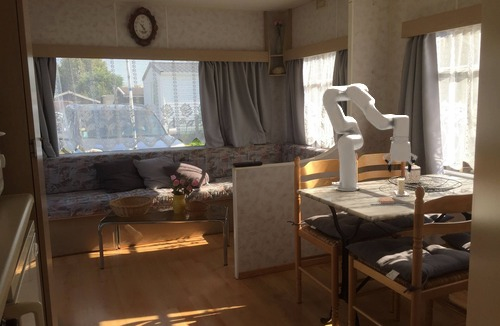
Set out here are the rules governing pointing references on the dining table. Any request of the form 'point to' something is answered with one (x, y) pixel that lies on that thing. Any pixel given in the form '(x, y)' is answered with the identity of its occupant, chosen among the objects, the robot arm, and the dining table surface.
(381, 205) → the mat
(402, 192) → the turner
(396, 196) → the tool rest
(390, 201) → the tile
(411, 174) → the teacup with lid
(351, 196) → the dining table surface
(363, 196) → the dining table surface
